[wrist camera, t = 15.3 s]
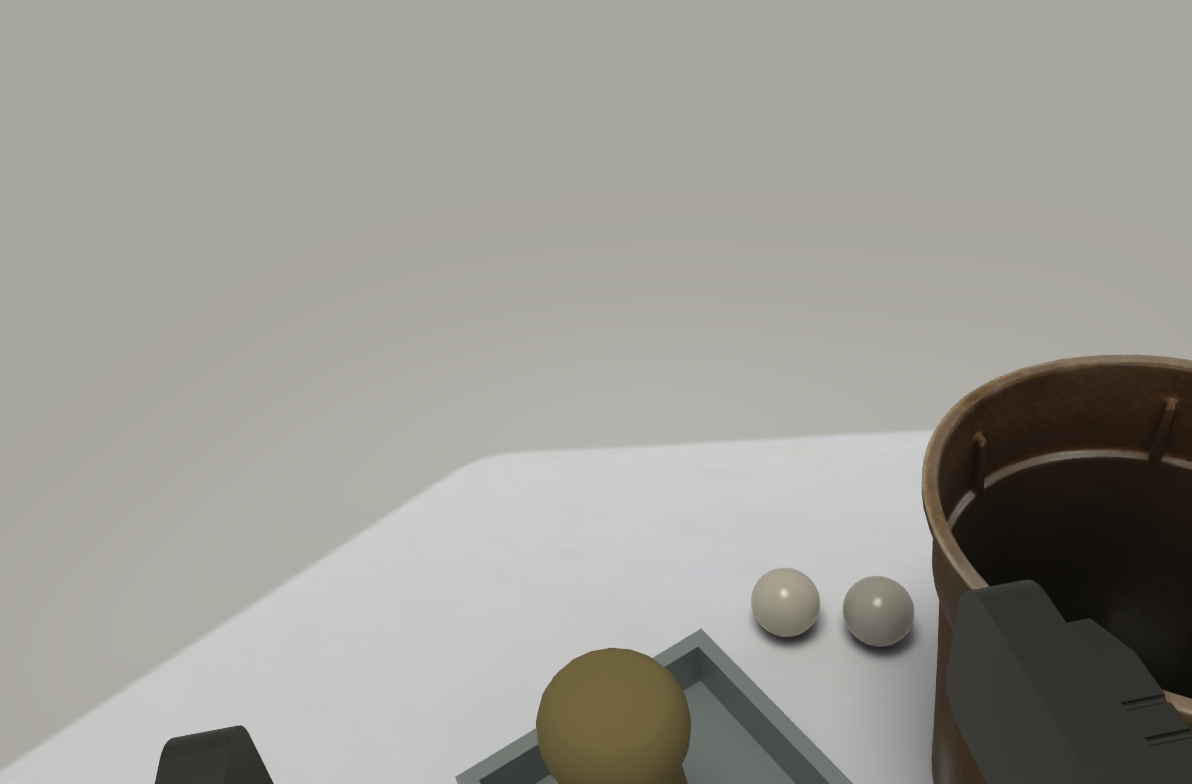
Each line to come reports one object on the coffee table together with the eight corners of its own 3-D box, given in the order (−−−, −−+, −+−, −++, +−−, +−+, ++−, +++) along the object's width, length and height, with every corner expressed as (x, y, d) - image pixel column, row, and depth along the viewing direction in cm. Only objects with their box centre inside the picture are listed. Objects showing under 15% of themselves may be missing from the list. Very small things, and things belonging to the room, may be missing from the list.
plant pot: (1319, 699, 44) (1478, 401, 34) (1348, 1098, 33) (1597, 823, 23) (927, 596, 51) (968, 320, 41) (840, 900, 39) (869, 620, 30)
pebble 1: (737, 619, 50) (737, 574, 48) (787, 589, 52) (789, 543, 50) (781, 662, 48) (782, 616, 46) (833, 629, 49) (835, 583, 47)
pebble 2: (826, 628, 49) (829, 583, 48) (875, 597, 51) (880, 551, 49) (875, 672, 47) (881, 626, 45) (925, 638, 48) (932, 592, 47)
